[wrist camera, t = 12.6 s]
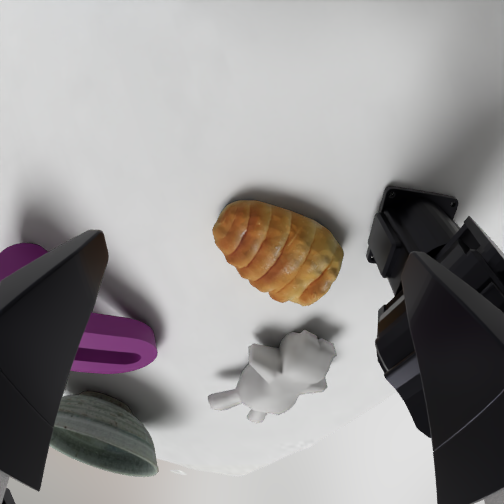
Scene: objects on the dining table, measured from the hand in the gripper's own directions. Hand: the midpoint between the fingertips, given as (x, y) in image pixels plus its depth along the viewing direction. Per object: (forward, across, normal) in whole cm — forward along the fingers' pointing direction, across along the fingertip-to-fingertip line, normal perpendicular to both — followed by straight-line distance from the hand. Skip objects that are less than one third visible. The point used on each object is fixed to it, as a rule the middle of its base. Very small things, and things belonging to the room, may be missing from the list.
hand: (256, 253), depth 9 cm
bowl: (+13, +22, +42) cm, 49 cm away
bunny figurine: (+13, -3, +24) cm, 28 cm away
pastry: (+14, -2, +9) cm, 16 cm away
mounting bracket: (+14, +18, +18) cm, 29 cm away
